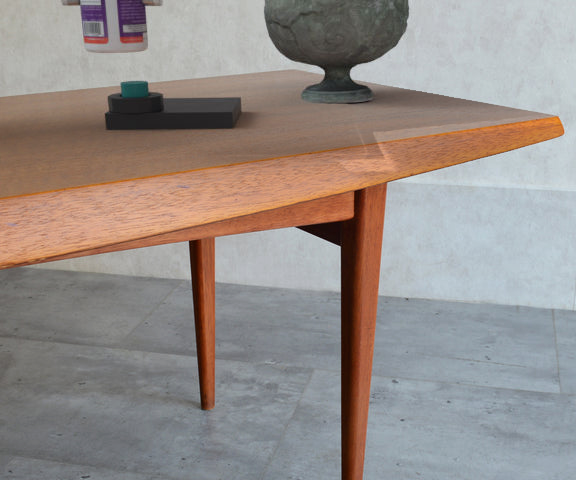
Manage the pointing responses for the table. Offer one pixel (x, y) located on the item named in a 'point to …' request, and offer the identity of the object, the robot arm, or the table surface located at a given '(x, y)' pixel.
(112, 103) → the scale
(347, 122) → the table surface
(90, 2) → the pill bottle
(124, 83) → the button
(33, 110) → the table surface
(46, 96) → the table surface
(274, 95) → the table surface
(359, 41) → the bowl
